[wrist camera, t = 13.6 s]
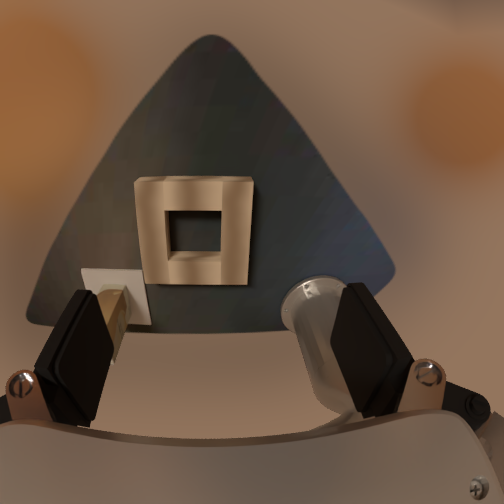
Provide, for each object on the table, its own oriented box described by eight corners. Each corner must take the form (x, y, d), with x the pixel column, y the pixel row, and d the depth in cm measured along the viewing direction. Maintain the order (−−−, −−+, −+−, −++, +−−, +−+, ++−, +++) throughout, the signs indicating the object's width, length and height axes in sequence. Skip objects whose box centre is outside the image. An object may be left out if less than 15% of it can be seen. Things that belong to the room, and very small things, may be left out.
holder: (251, 176, 38) (253, 182, 35) (245, 273, 45) (247, 284, 42) (140, 176, 36) (134, 182, 33) (149, 272, 43) (145, 283, 40)
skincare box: (132, 313, 46) (115, 367, 35) (110, 312, 45) (89, 364, 35) (125, 282, 43) (103, 335, 32) (101, 281, 42) (75, 332, 32)
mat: (142, 269, 43) (142, 271, 42) (151, 323, 48) (151, 324, 47) (81, 268, 41) (80, 269, 41) (96, 319, 46) (95, 321, 46)
